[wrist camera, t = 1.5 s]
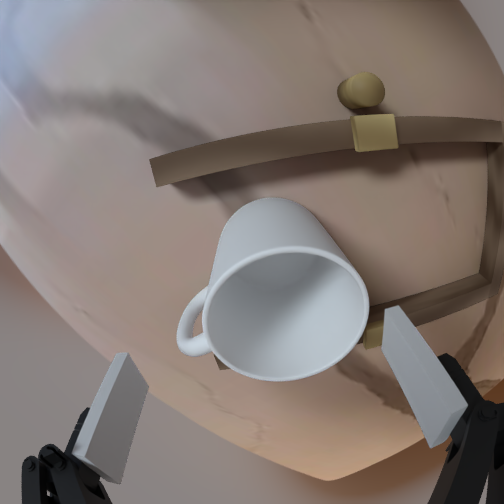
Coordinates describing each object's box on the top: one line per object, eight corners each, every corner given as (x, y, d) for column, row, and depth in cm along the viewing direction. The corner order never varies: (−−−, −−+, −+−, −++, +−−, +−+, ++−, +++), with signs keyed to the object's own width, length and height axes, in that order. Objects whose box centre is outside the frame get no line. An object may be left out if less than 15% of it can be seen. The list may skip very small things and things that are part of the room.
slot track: (150, 116, 18) (134, 114, 15) (490, 91, 16) (512, 91, 13) (222, 353, 27) (220, 377, 24) (485, 285, 25) (501, 298, 22)
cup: (338, 261, 23) (386, 339, 14) (218, 323, 25) (208, 413, 16) (292, 175, 20) (331, 210, 11) (163, 252, 23) (116, 330, 13)
